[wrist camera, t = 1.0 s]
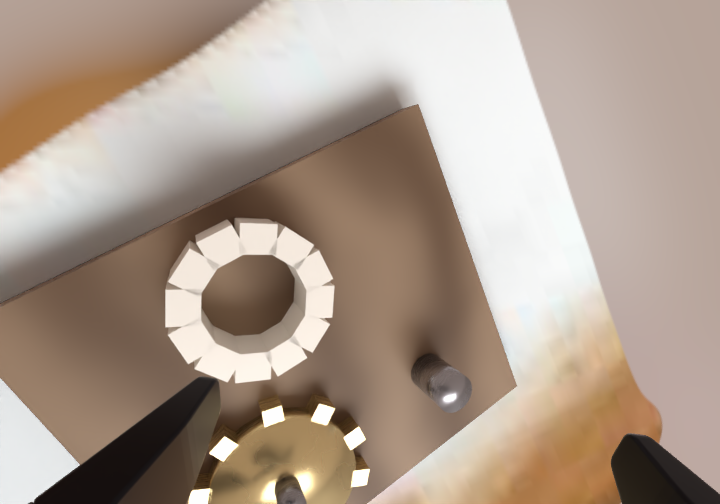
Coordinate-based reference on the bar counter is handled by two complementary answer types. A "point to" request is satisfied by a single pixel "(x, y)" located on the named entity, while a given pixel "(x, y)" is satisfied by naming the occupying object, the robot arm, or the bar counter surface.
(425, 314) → the gear board
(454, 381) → the steel peg
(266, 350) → the ring gear
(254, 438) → the brass drive gear
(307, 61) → the bar counter surface
